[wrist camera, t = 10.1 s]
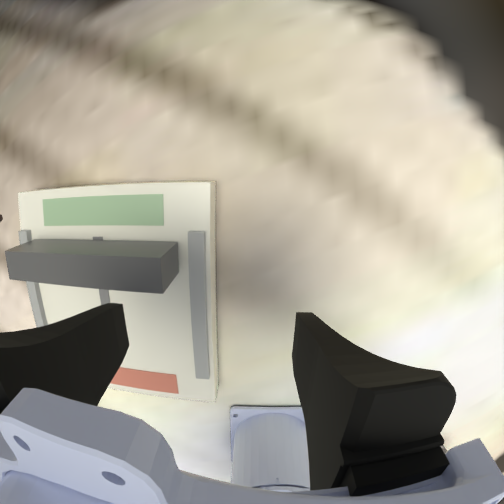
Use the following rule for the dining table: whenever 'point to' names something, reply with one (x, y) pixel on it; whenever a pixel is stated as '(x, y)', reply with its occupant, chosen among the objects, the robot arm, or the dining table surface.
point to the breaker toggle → (96, 264)
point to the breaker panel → (137, 303)
